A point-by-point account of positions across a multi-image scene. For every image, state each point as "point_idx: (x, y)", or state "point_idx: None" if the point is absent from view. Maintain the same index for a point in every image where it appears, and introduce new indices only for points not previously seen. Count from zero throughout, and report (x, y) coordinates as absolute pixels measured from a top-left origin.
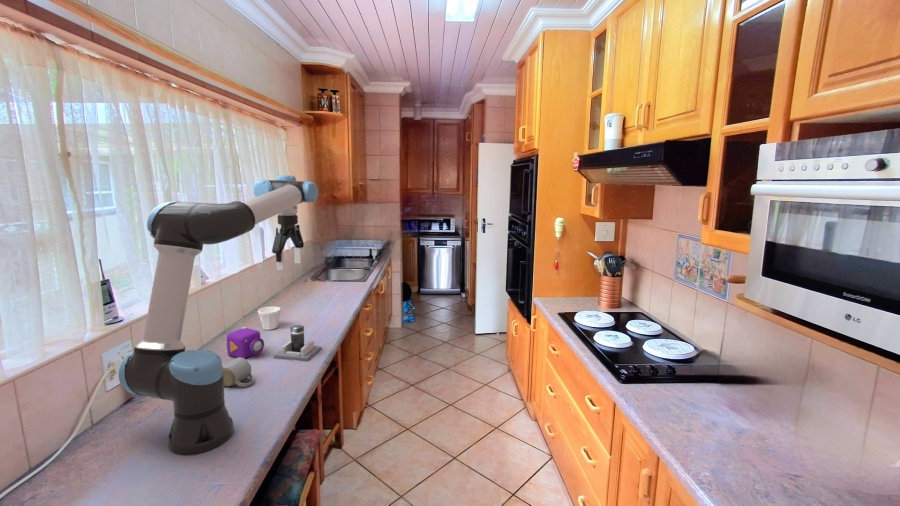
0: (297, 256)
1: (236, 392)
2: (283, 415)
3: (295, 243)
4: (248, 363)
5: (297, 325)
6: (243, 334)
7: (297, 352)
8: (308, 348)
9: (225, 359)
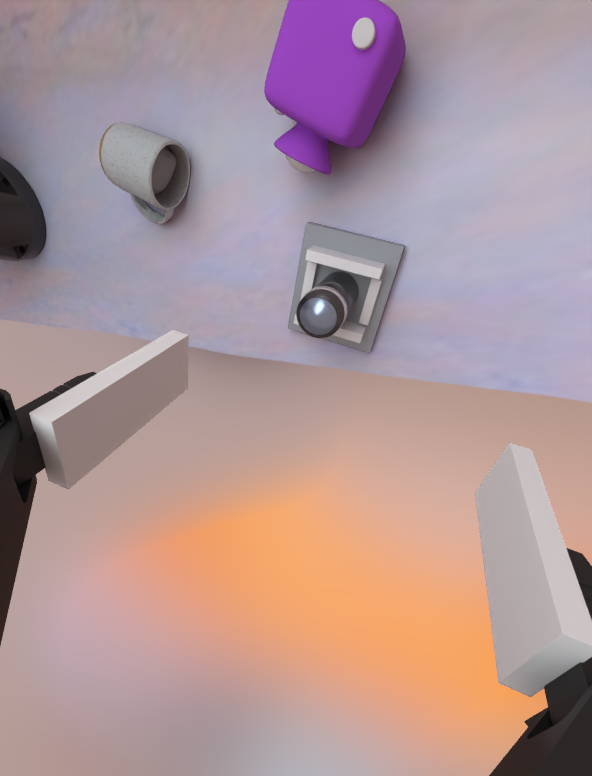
0: (502, 533)
1: (126, 198)
2: (91, 323)
3: (520, 765)
4: (154, 204)
5: (331, 315)
6: (288, 83)
7: None
8: None
9: None
